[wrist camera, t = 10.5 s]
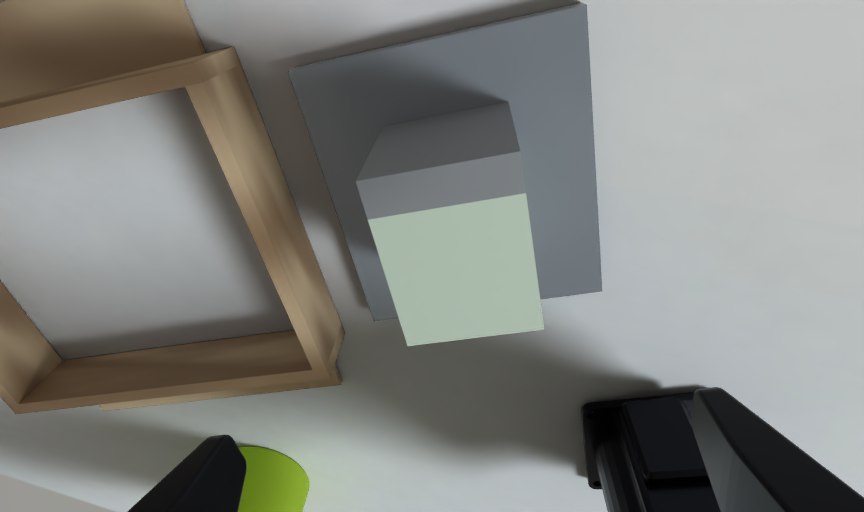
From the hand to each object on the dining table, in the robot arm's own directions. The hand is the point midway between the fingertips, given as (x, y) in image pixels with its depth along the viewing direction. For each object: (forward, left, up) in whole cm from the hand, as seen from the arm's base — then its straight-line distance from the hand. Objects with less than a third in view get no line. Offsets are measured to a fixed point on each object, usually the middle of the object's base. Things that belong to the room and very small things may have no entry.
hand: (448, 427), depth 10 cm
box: (0, 0, -11) cm, 11 cm away
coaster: (0, 0, -12) cm, 12 cm away
